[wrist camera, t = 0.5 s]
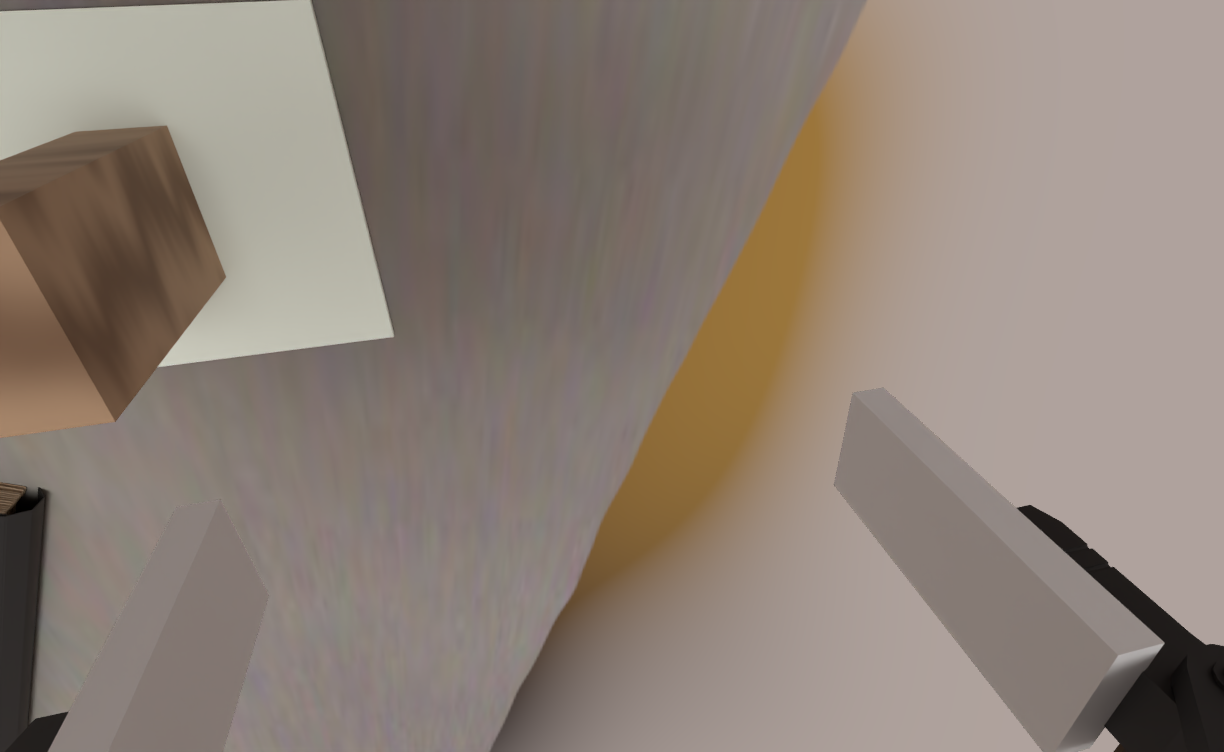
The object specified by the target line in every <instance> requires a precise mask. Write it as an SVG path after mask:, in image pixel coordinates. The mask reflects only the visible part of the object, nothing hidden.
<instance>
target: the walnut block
mask: <svg viewBox="0 0 1224 752" xmlns="http://www.w3.org/2000/svg"><path fill="white" fill-rule="evenodd" d="M225 278H226V275H225V273H224V270H223V268H222V265H221V262H220V260H219V257H218V255H217V252H216V250H215V247H214V245H213V242H212V239H211V237H210V234H209V232H208V229H207V227H206V224H205V222H204V219H203V216H202V214H201V211H200V209H199V206H198V204H197V201H196V199H195V196H194V193H193V191H192V188H191V186H190V183H189V181H188V178H187V175H186V173H185V170H184V168H183V165H182V163H181V160H180V158H179V155H178V152H177V150H176V147H175V145H174V142H173V140H172V137H171V135H170V132H169V129H168V127H167V125H166V126H152V127H137V128H122V129H108V130H93V131H78V132H73V133H71V134H68V135H65V136H63V137H60V138H58V139H55V140H52V141H50V142H47V143H44V144H42V145H39V146H37V147H34V148H31V149H29V150H26V151H24V152H21V153H18V154H16V155H13V156H10V157H8V158H5V159H3V160H0V438H3V437H10V436H17V435H24V434H32V433H39V432H46V431H53V430H60V429H67V428H74V427H82V426H89V425H96V424H103V423H110V422H116V420H117V419H118V418H119V416H120V415H121V414H122V412H123V411H124V410H125V409H126V407H127V406H128V405H129V403H130V402H131V401H132V399H133V398H134V397H135V395H136V394H137V393H138V392H139V390H140V389H141V388H142V386H143V385H144V384H145V382H146V381H147V380H148V379H149V377H150V376H151V375H152V373H153V372H154V371H155V369H156V368H157V367H158V366H159V364H160V363H161V362H162V360H163V359H164V358H165V356H166V355H167V354H168V353H169V351H170V350H171V349H172V347H173V346H174V345H175V343H176V342H177V341H178V339H179V338H180V337H181V336H182V334H183V333H184V332H185V330H186V329H187V328H188V326H189V325H190V324H191V323H192V321H193V320H194V319H195V317H196V316H197V315H198V313H199V312H200V311H201V310H202V308H203V307H204V306H205V304H206V303H207V302H208V300H209V299H210V298H211V296H212V295H213V294H214V293H215V291H216V290H217V289H218V287H219V286H220V285H221V283H222V282H223V281H224V280H225Z"/></svg>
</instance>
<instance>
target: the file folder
mask: <svg viewBox="0 0 1224 752" xmlns="http://www.w3.org/2000/svg"><path fill="white" fill-rule="evenodd" d="M26 490H27V489H26V487H24V486H19V485H13V484H7V483H1V482H0V752H5V751H6V750H7V749H8V748H9V746H10V745H11V744H12V743H13V742H14V741H15V740H16V739H17V738H18V737H19V736H20V735H21V734H22V733H23V732H24V730H25V729H26V728H27V727H28V714H29V700H30V687H31V673H32V660H33V647H34V633H35V620H36V607H37V594H38V580H39V567H40V554H41V540H42V527H43V514H44V501H45V496H44V494H43V492H42V490H41V489H40V488H39V487H38V499H37V505H36V506H35V507H34V508H33V510H28V511H24V512H20V513H16V514H15V511H16V503H17V501H19V499H21V496H23V494H25V491H26Z"/></svg>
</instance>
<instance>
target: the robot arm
mask: <svg viewBox="0 0 1224 752" xmlns="http://www.w3.org/2000/svg"><path fill="white" fill-rule="evenodd" d="M834 486H835V487H836V488H837V490H838V491H839V492H840V493H841V495H842V496H843V497H844V499H845V500H846V501H847V502H848V503H849V505H850V506H851V508H852V509H853V510H854V511H855V513H856V514H857V515H858V516H859V518H860V519H861V520H862V522H863V523H864V524H865V525H866V527H867V528H868V529H869V530H870V532H871V533H872V534H873V535H874V537H875V538H876V539H877V541H878V542H879V543H880V544H881V546H882V547H883V548H884V550H885V551H886V552H887V553H888V555H889V556H890V557H891V559H892V560H893V561H894V562H895V564H896V565H897V566H898V567H899V569H900V570H901V571H902V573H903V574H904V575H905V576H906V578H907V579H908V580H909V581H910V583H911V584H912V585H913V587H914V588H915V589H916V591H917V592H918V593H919V594H920V595H921V597H922V598H923V599H924V601H925V602H926V603H927V605H928V606H929V607H930V608H931V610H932V611H933V612H934V613H935V615H936V616H937V617H938V618H939V620H940V621H941V622H942V624H943V625H944V626H945V627H946V629H947V630H948V631H949V633H950V634H951V635H952V636H953V638H954V639H955V640H956V642H957V643H958V644H959V645H960V647H961V648H962V649H963V650H964V652H965V653H966V654H967V655H968V657H969V658H970V659H971V661H972V662H973V663H974V664H975V666H976V667H977V668H978V670H979V671H980V672H981V673H982V675H983V676H984V677H985V678H986V680H987V681H988V682H989V684H990V685H991V686H992V687H993V688H994V690H995V691H996V693H997V694H998V695H999V696H1000V698H1001V699H1002V700H1003V702H1004V703H1005V704H1006V705H1007V707H1008V708H1009V709H1010V710H1011V712H1012V713H1013V714H1014V716H1015V717H1016V718H1017V719H1018V721H1019V722H1020V723H1021V724H1022V726H1023V727H1024V728H1025V729H1026V731H1027V732H1028V733H1029V735H1030V736H1031V737H1032V739H1033V740H1034V741H1035V742H1036V744H1037V745H1038V746H1039V747H1040V748H1041V750H1042V751H1043V752H1078V751H1081V750H1085V749H1088V748H1090V747H1091V746H1092V745H1093V743H1094V742H1095V740H1096V739H1097V738H1098V736H1099V735H1100V733H1101V732H1102V731H1103V729H1104V728H1105V727H1106V728H1107V729H1108V731H1109V732H1110V733H1111V734H1112V735H1113V736H1114V737H1115V738H1116V739H1117V741H1118V742H1119V743H1120V744H1119V745H1118V747H1117V748H1116V749H1115V751H1114V752H1224V646H1220V645H1215V644H1209V645H1205V644H1204V643H1202V642H1201V641H1200V640H1199V639H1197V638H1196V637H1195V636H1193V635H1192V634H1191V633H1189V632H1188V631H1187V630H1186V629H1185V628H1184V627H1182V626H1181V625H1180V624H1179V623H1178V622H1177V621H1176V620H1175V619H1173V618H1172V617H1171V616H1170V615H1169V614H1168V613H1166V612H1165V611H1164V610H1163V609H1162V608H1161V607H1159V606H1158V605H1157V604H1156V603H1155V602H1154V601H1152V600H1151V599H1150V598H1149V597H1148V596H1147V595H1146V594H1144V593H1143V592H1142V591H1141V590H1140V589H1139V588H1137V587H1136V586H1135V585H1134V584H1133V583H1132V582H1131V581H1129V580H1128V579H1127V578H1126V577H1125V576H1124V575H1122V574H1121V573H1120V572H1119V571H1118V570H1117V569H1115V568H1114V567H1110V566H1109V565H1108V562H1107V561H1106V560H1105V559H1104V558H1103V557H1101V556H1100V555H1099V554H1098V553H1097V552H1096V551H1095V550H1093V549H1089V548H1088V547H1087V544H1086V543H1085V542H1084V541H1083V540H1082V539H1081V538H1080V537H1078V536H1077V535H1076V534H1075V533H1073V532H1072V531H1071V530H1070V529H1069V528H1068V527H1067V526H1066V525H1064V524H1063V523H1062V522H1061V521H1059V520H1057V519H1055V518H1053V517H1051V516H1050V515H1048V514H1046V513H1044V512H1042V511H1040V510H1039V509H1037V508H1035V507H1033V506H1031V505H1028V506H1023V507H1019V508H1016V507H1015V506H1013V505H1012V504H1011V503H1010V502H1009V501H1008V500H1007V499H1006V498H1005V497H1003V496H1002V495H1001V494H1000V493H999V492H998V491H997V490H996V489H995V488H994V487H993V486H991V485H990V484H989V483H988V482H987V481H986V480H985V479H984V478H982V477H981V476H980V475H979V474H978V473H977V472H976V471H975V470H974V469H973V468H972V467H970V466H969V465H968V464H967V463H966V462H965V461H964V460H963V459H961V457H959V456H958V455H957V454H956V453H955V452H954V451H953V450H952V449H951V448H949V447H948V446H947V445H946V444H945V443H944V442H943V441H942V440H941V439H940V438H939V437H937V436H936V435H935V434H934V433H933V432H932V431H931V430H930V429H929V428H927V427H926V426H925V425H924V424H923V423H922V422H921V421H920V420H919V419H918V418H916V417H915V416H914V415H913V414H912V413H911V412H910V411H909V410H907V409H906V408H905V407H904V406H903V405H902V404H901V403H900V402H899V401H898V400H897V399H896V398H894V397H893V396H892V395H891V394H890V393H889V392H888V391H887V390H886V389H884V388H878V389H872V390H866V391H860V392H854V393H853V394H852V399H851V403H850V409H849V414H848V418H847V423H846V428H845V433H844V438H843V443H842V448H841V453H840V458H839V462H838V467H837V472H836V477H835V482H834ZM268 598H269V594H268V592H267V590H266V588H265V586H264V584H263V582H262V580H261V578H260V576H259V574H258V572H257V570H256V568H255V566H254V564H253V562H252V560H251V558H250V556H249V554H248V552H247V550H246V548H245V546H244V544H243V542H242V540H241V538H240V536H239V534H238V532H237V530H236V528H235V527H234V525H233V523H232V521H231V519H230V517H229V515H228V513H227V511H226V509H225V507H224V505H223V503H222V501H221V499H220V500H214V501H208V502H202V503H196V504H190V505H184V506H178V507H176V509H175V511H174V512H173V514H172V516H171V518H170V520H169V522H168V524H167V526H166V528H165V530H164V532H163V533H162V535H161V537H160V539H159V541H158V543H157V545H156V547H155V549H154V551H153V552H152V554H151V556H150V558H149V560H148V562H147V564H146V566H145V568H144V570H143V571H142V573H141V575H140V577H139V579H138V581H137V583H136V585H135V587H134V589H133V591H132V592H131V594H130V596H129V598H128V600H127V602H126V604H125V606H124V608H123V610H122V611H121V613H120V615H119V617H118V619H117V621H116V623H115V625H114V627H113V629H112V630H111V632H110V634H109V636H108V638H107V640H106V642H105V644H104V646H103V648H102V650H101V651H100V653H99V655H98V657H97V659H96V661H95V663H94V665H93V667H92V669H91V670H90V672H89V674H88V676H87V678H86V680H85V682H84V684H83V686H82V688H81V689H80V691H79V693H78V695H77V697H76V699H75V701H74V703H73V705H72V707H71V708H70V710H69V712H65V713H60V714H55V715H51V716H46V717H41V718H37V719H35V720H34V721H33V722H32V723H31V724H30V725H29V726H28V727H27V728H26V729H25V730H24V732H23V733H22V734H21V735H20V736H19V737H18V738H17V739H16V740H15V741H14V742H13V743H12V744H11V745H10V746H9V748H8V749H7V750H6V751H5V752H223V750H224V747H225V744H226V740H227V737H228V733H229V730H230V727H231V723H232V720H233V716H234V713H235V710H236V706H237V703H238V699H239V696H240V693H241V689H242V686H243V683H244V679H245V676H246V672H247V669H248V666H249V662H250V659H251V655H252V652H253V649H254V645H255V642H256V638H257V635H258V632H259V628H260V625H261V621H262V618H263V615H264V611H265V608H266V605H267V601H268Z"/></svg>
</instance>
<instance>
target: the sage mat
mask: <svg viewBox="0 0 1224 752" xmlns="http://www.w3.org/2000/svg"><path fill="white" fill-rule="evenodd" d="M166 125H167V127H168V129H169V132H170V135H171V137H172V140H173V142H174V145H175V147H176V150H177V152H178V155H179V158H180V160H181V163H182V165H183V168H184V170H185V173H186V175H187V178H188V181H189V183H190V186H191V188H192V191H193V193H194V196H195V199H196V201H197V204H198V206H199V209H200V211H201V214H202V216H203V219H204V222H205V224H206V227H207V229H208V232H209V234H210V237H211V239H212V242H213V245H214V247H215V250H216V252H217V255H218V257H219V260H220V262H221V265H222V268H223V270H224V273H225V275H226V278H225V280H224V281H223V282H222V283H221V285H220V286H219V287H218V289H217V290H216V291H215V293H214V294H213V295H212V296H211V298H210V299H209V300H208V302H207V303H206V304H205V306H204V307H203V308H202V310H201V311H200V312H199V313H198V315H197V316H196V317H195V319H194V320H193V321H192V323H191V324H190V325H189V326H188V328H187V329H186V330H185V332H184V333H183V334H182V336H181V337H180V338H179V339H178V341H177V342H176V343H175V345H174V346H173V347H172V349H171V350H170V351H169V353H168V354H167V355H166V356H165V358H164V359H163V360H162V362H161V363H160V364H159V366H158V367H162V366H170V365H178V364H186V363H194V362H201V361H209V360H217V359H225V358H233V357H240V356H248V355H256V354H264V353H272V352H279V351H287V350H295V349H303V348H311V347H318V346H326V345H334V344H342V343H350V342H357V341H365V340H373V339H381V338H389V337H394V330H393V326H392V322H391V318H390V314H389V310H388V306H387V302H386V298H385V294H384V290H383V286H382V282H381V278H380V274H379V270H378V266H377V262H376V258H375V254H374V250H373V246H372V242H371V238H370V234H369V229H368V225H367V221H366V217H365V213H364V209H363V205H362V201H361V197H360V193H359V189H358V185H357V181H356V177H355V173H354V169H353V165H352V161H351V157H350V153H349V149H348V145H347V141H346V137H345V133H344V129H343V125H342V121H341V117H340V113H339V109H338V105H337V101H336V97H335V92H334V88H333V84H332V80H331V76H330V72H329V68H328V64H327V60H326V56H325V52H324V48H323V44H322V40H321V36H320V32H319V28H318V24H317V20H316V16H315V12H314V8H313V4H312V0H285V1H259V2H233V3H206V4H180V5H154V6H127V7H101V8H75V9H48V10H22V11H0V160H3V159H5V158H8V157H10V156H13V155H16V154H18V153H21V152H24V151H26V150H29V149H31V148H34V147H37V146H39V145H42V144H44V143H47V142H50V141H52V140H55V139H58V138H60V137H63V136H65V135H68V134H71V133H73V132H78V131H93V130H108V129H122V128H137V127H152V126H166Z"/></svg>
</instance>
